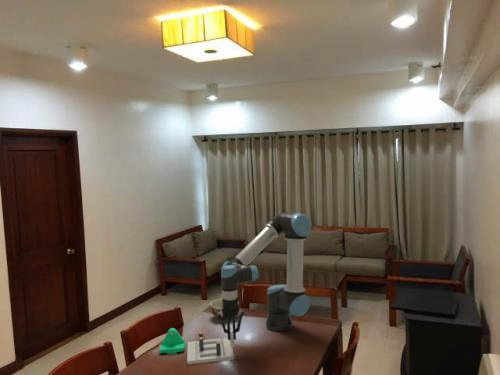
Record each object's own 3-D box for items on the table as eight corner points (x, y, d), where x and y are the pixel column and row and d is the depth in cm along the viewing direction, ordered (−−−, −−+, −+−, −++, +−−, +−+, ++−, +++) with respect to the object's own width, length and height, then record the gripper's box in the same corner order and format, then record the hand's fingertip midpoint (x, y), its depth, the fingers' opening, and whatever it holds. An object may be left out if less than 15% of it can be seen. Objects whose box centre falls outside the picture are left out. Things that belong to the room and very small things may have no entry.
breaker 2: (220, 351, 204) (219, 340, 204) (220, 353, 202) (220, 343, 201) (216, 352, 204) (215, 341, 204) (216, 354, 202) (216, 343, 201)
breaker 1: (203, 347, 210) (202, 336, 210) (203, 349, 208) (203, 339, 207) (199, 347, 210) (198, 337, 210) (199, 349, 207) (199, 339, 207)
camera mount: (159, 355, 209) (158, 334, 209) (161, 348, 217) (160, 329, 216) (184, 353, 210) (182, 333, 209) (185, 346, 218) (184, 327, 217)
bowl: (207, 323, 248) (206, 307, 248) (214, 312, 266) (213, 297, 265) (236, 323, 245) (235, 307, 245) (242, 312, 263) (241, 297, 262)
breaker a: (203, 341, 217) (202, 331, 217) (203, 343, 215) (202, 333, 214) (199, 341, 217) (198, 331, 217) (199, 344, 214) (198, 333, 214)
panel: (230, 340, 222) (229, 337, 222) (234, 359, 200) (233, 355, 200) (187, 345, 219) (187, 341, 219) (187, 364, 197) (187, 360, 197)
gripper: (242, 294, 207) (244, 341, 208) (216, 296, 205) (218, 344, 206) (244, 299, 200) (246, 348, 201) (216, 301, 198) (219, 350, 199)
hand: (232, 346), depth 203 cm, fingers closed
